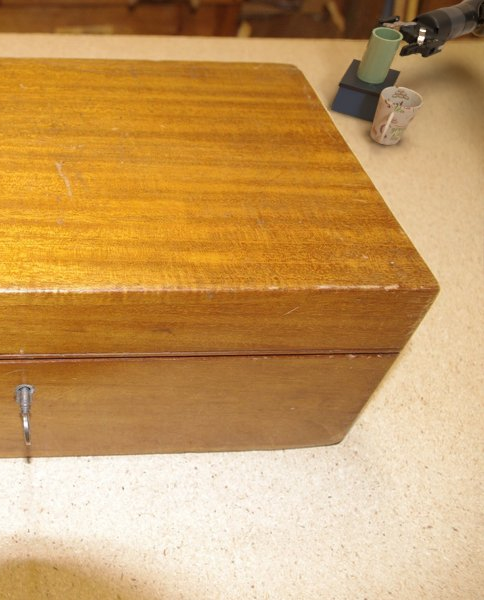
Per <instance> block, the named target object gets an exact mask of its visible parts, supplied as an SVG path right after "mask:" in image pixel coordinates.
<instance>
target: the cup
mask: <svg viewBox="0 0 484 600" xmlns="http://www.w3.org/2000/svg"><path fill="white" fill-rule="evenodd" d="M375 28H376V27H375ZM402 39H403V35H402V34H401V33H400V32H399V30H398V29H397V30H394V29H391V28H384V27H380V28H376V29H374V30H373V31H372V34H371V36H370V38H368V42H367V44H366V47H365V50H364V51H363V55H362V57H361V59H360V61H361V62H360V65H359V68H358V70H357V73H356V75H357V77H358V78H359V79H361V80H362V81H365V82H368V83H373V84H378V83H382V82H384V81H385V79H386V76H387V74H388V72H389V69H391V67H392V64H393V62H394V60H395V57H396V56H397V53H398V50H399V48H400V45H401V43H402V41H403V40H402Z"/></svg>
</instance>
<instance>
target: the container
mask: <svg viewBox="0 0 484 600" xmlns="http://www.w3.org/2000/svg"><path fill="white" fill-rule="evenodd" d="M360 62H361V59H356V58H353V59H352V61H351V63H350V64H349V66H348V68H347V69H346V71H345V73H344V74H343V76H342V78H341V79H340V81H339V82H338V85H337V86H338V90H337V93H336V96H335V98H334V101H333V104H332V106H331V110H332V111H335V112H338V113H341V114H345V115H349V116H352V117H354V118H357V119H361V120H365V121H369V122H371V123H373V121H374V117H375V113H376V109H377V106H378V102H379V98H380V95H381V92H382V91H383V90H384V89H385V88H388V87H395V84H396V83H397V81H398V79H399V76H400V75H401V70H397V69H395V68H394V69H393V68H390V69H389V72H388V74H387V76H386V79H385V81H384V82H382V83H378V84H373V83H368V82H365V81H362V80H361V79H359V78H358V77H357V75H356V73H357V70H358V68H359V65H360Z"/></svg>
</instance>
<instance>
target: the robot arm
mask: <svg viewBox="0 0 484 600" xmlns="http://www.w3.org/2000/svg"><path fill="white" fill-rule="evenodd" d="M400 19H401V16H400V15H397V14H396V15H392V16H388V17H384V18H380V19H379V20H378V22H377V24H376V27H372V28H371V30H370V34H369V36H368V39H370V36H371V34H372V31H373V30H374V29H376V28H380V27H384V28H391V29H394V30H397V31H399V32H400V33H401V34H402V35H403V39H402V41H403V42H405V43H407V44H405V45H403V46H402V47H401V49H400V51H399V54H398V55H399V56H400V57H401V58H402V57H408V56H412V55H415V56H418V55H421V57H422V58H424V59H425V58H429V57H432V56H434V55H437V54H439V53H441V52H442V50H443V49H444V47H445V44H446V43H447V42H450V41H451V40H453V39H457V38H459V37H462V36H465V35H468V34H470V33H472V34H473V35H474V36H476V37H484V0H462V1H461V2H460V3H457V4H455V5H451V6H447V7H446V6H445V7H440V8H437V9H434V10H433V9H432V10H431V11H427V12H424V13H421V14H419V15H417V16H416V17H414V18H413V19H412V20H411V21H410V20H409V21H402V20H400ZM398 28H399V30H398Z"/></svg>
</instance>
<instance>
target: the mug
mask: <svg viewBox="0 0 484 600" xmlns="http://www.w3.org/2000/svg"><path fill="white" fill-rule="evenodd" d="M423 104H424V98H423V97H422V96H421V94H419V93H418V92H417V91H415V90H413V89H410V88H407V87H404V86H393V87H388V88H385V89H384V90H383V91H382V92H381V95H380V98H379V102H378V106H377V109H376V113H375V117H374V121H373V122H372V125H371V128H370V132H369V136H370V138H371V139H372V140H373V141H374V142H376V143H377V144H381V145H386V146H394V145H396V144H398V142H399V141H400V140H401V138H402V137H403V135H404V134H405V132H406V130H407V129H408V127H409V126H410V125H411V123H412V122H413V120H414V118H415V117H416V115H417V114H418V112H419V111H420V109H421V107H422V106H423Z"/></svg>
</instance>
